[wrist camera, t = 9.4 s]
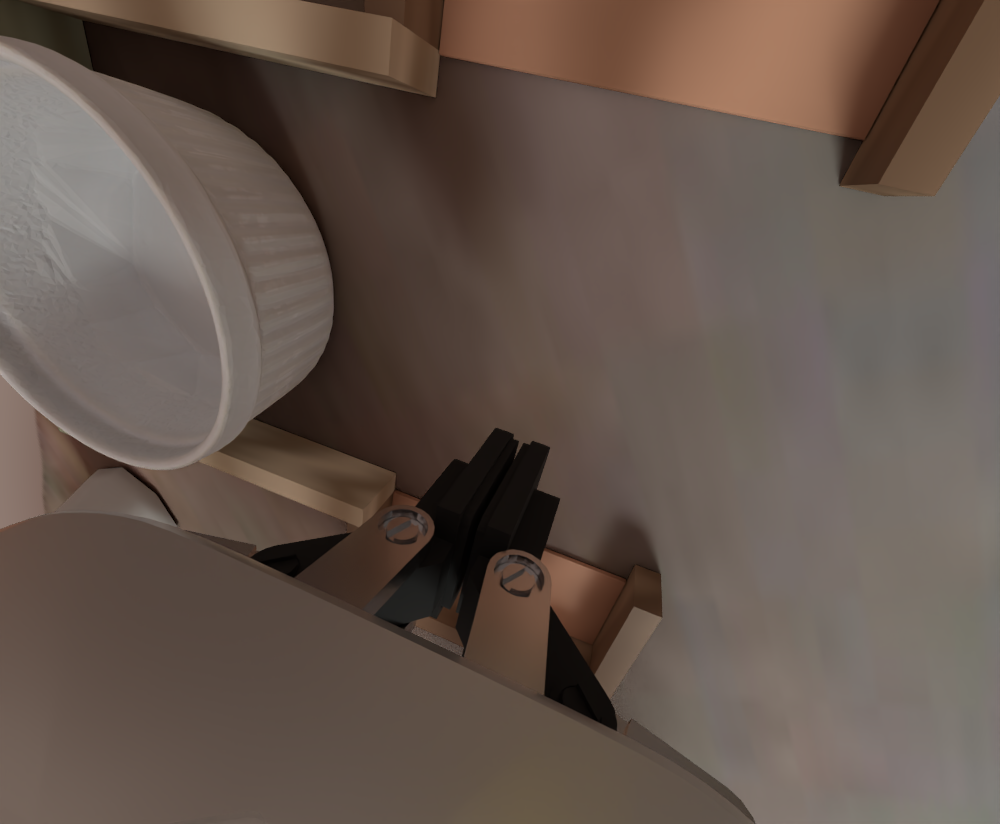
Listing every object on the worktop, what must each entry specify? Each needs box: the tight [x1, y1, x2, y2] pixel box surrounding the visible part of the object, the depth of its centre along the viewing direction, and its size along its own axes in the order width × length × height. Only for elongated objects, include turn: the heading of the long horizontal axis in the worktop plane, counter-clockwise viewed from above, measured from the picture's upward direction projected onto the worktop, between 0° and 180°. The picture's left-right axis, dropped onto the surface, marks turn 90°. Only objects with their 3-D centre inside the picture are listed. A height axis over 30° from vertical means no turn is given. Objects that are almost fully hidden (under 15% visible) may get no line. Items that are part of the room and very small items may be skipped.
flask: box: [54, 467, 178, 528], centre depth 27 cm, size 7×7×10 cm
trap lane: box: [0, 0, 1000, 699], centre depth 16 cm, size 30×31×4 cm
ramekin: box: [0, 36, 334, 470], centre depth 16 cm, size 13×13×7 cm
